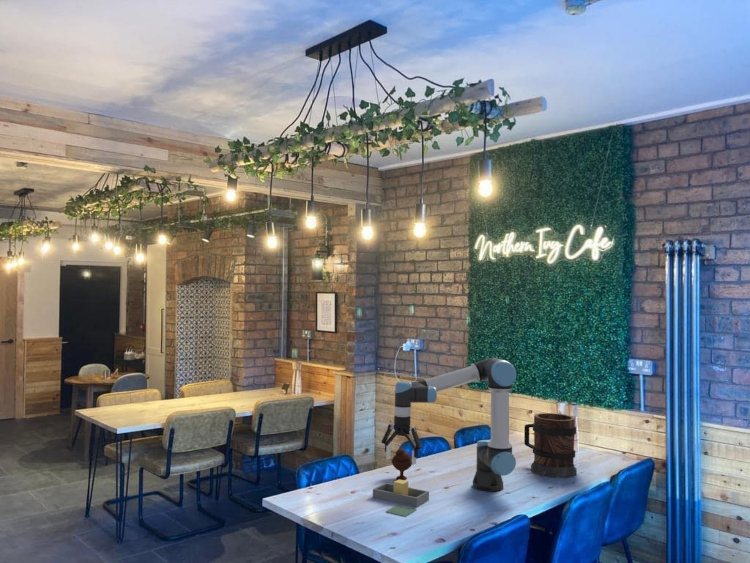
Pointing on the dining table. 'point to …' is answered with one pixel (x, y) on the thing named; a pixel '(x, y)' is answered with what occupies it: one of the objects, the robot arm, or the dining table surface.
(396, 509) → the green pad
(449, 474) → the dining table surface
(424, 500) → the charcoal bin
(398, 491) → the mustard block
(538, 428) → the wooden beer tankard
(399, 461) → the ice cream bowl
